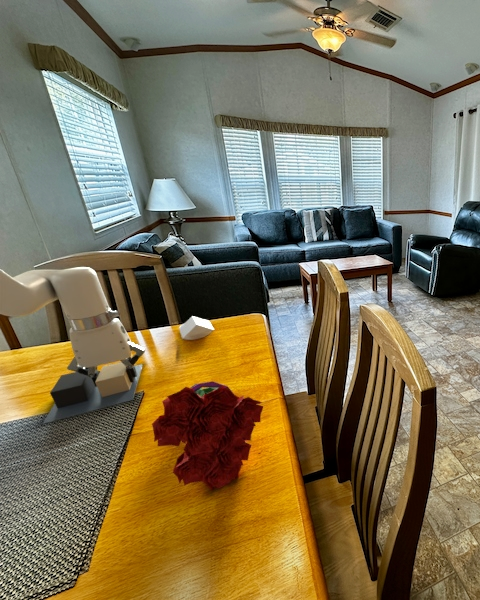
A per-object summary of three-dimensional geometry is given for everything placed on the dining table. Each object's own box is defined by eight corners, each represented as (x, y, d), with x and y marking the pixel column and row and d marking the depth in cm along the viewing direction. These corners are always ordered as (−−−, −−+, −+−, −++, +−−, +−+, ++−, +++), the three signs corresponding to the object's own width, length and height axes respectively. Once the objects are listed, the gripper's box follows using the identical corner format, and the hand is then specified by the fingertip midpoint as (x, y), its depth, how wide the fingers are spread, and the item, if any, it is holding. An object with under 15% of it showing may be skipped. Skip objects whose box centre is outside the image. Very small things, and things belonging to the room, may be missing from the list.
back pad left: (57, 408, 76) (49, 392, 74) (68, 390, 82) (61, 375, 81) (88, 400, 78) (81, 385, 77) (96, 383, 85) (90, 368, 83)
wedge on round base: (216, 338, 109) (208, 325, 118) (212, 320, 106) (204, 308, 116) (185, 347, 104) (179, 332, 113) (180, 328, 101) (174, 315, 111)
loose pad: (101, 397, 80) (94, 382, 78) (108, 380, 86) (102, 366, 84) (129, 390, 82) (123, 375, 80) (134, 374, 89) (129, 359, 87)
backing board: (43, 427, 72) (41, 424, 71) (69, 384, 86) (68, 381, 86) (134, 403, 79) (132, 399, 79) (143, 367, 94) (142, 364, 93)
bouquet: (234, 411, 85) (280, 460, 63) (158, 446, 75) (181, 519, 52) (213, 341, 81) (254, 367, 59) (130, 367, 70) (141, 410, 48)
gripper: (139, 306, 84) (159, 366, 91) (48, 322, 76) (78, 386, 83) (134, 317, 78) (157, 380, 85) (35, 335, 70) (69, 403, 77)
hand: (118, 382), depth 84 cm, fingers closed on loose pad, 5 cm apart
